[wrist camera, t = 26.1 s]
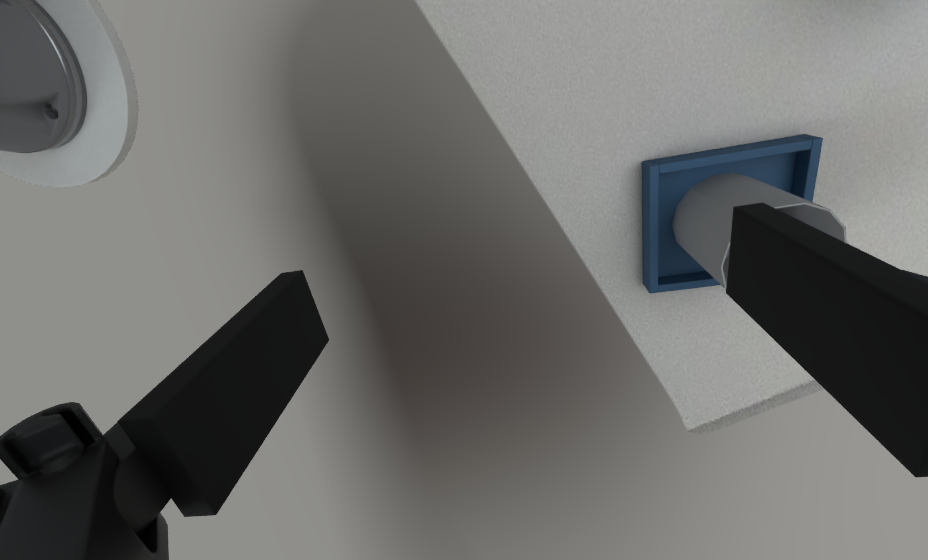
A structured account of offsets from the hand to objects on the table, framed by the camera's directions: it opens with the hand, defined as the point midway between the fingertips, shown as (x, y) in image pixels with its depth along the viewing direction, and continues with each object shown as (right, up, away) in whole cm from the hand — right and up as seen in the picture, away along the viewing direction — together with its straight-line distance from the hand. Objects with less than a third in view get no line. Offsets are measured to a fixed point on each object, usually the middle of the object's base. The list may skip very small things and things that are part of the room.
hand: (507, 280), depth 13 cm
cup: (+23, +6, +27) cm, 36 cm away
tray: (+23, +6, +27) cm, 36 cm away
